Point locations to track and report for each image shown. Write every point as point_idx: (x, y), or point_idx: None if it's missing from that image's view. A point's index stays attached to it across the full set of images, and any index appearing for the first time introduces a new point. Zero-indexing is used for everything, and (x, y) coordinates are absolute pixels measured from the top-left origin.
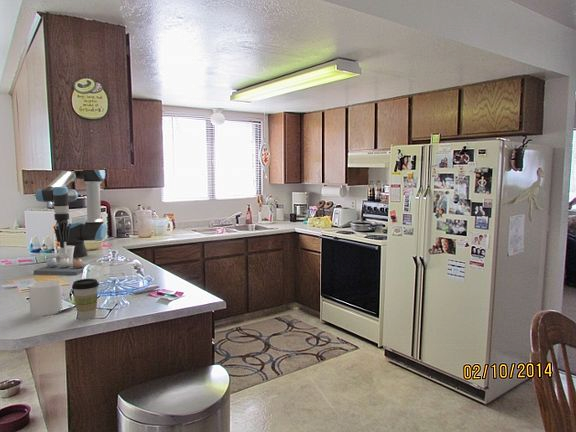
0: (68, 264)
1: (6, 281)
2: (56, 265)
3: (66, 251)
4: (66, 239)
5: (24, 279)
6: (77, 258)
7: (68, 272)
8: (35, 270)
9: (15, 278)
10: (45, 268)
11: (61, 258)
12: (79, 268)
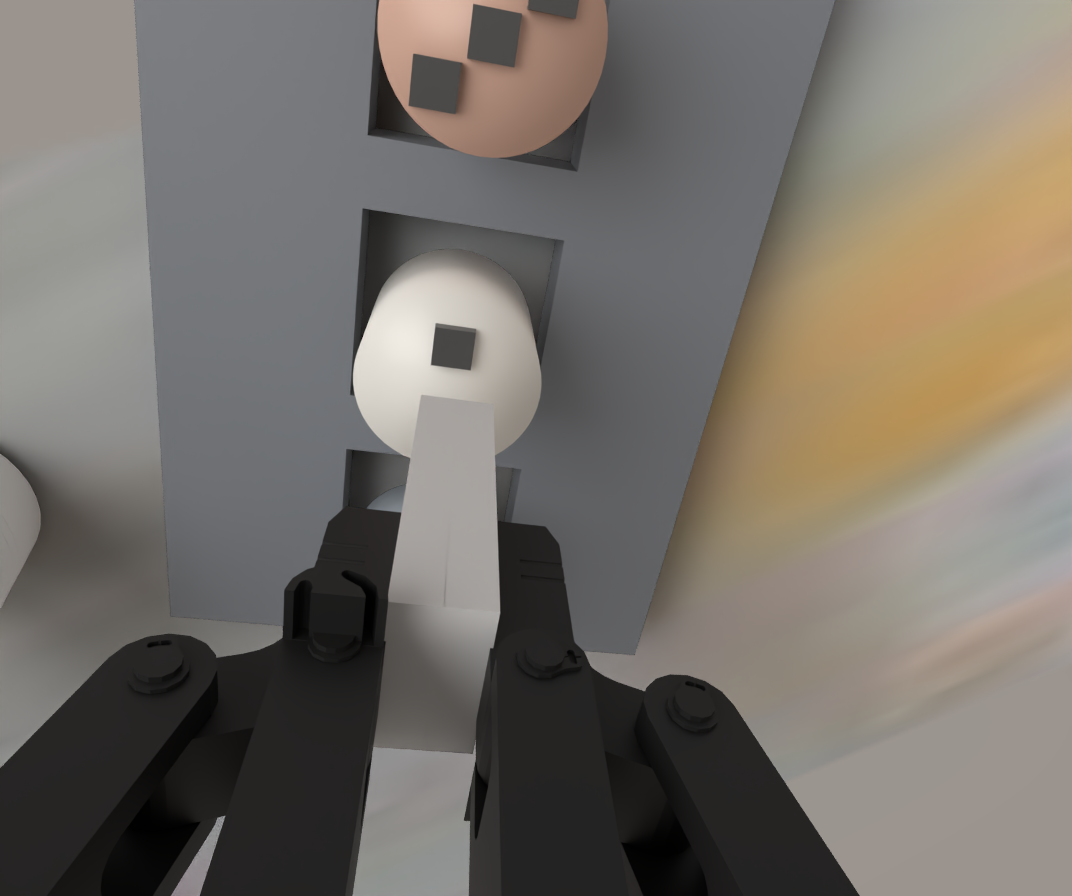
0: (455, 260)
1: (948, 700)
2: (398, 488)
3: (427, 410)
4: (316, 677)
5: (910, 582)
6: (421, 55)
7: (801, 87)
8: (639, 632)
9: (828, 688)
10: None
11: (1, 600)
12: (377, 42)
